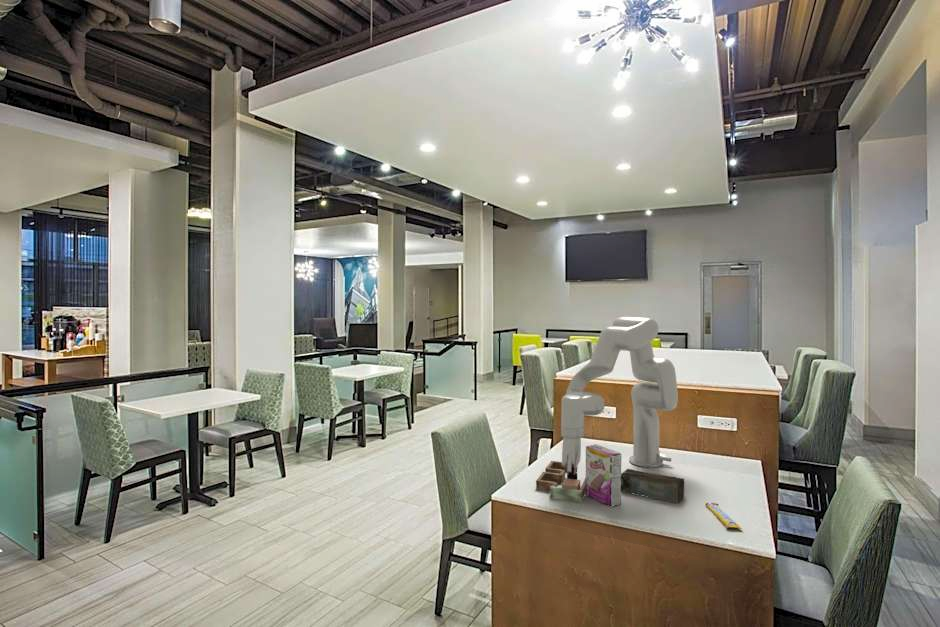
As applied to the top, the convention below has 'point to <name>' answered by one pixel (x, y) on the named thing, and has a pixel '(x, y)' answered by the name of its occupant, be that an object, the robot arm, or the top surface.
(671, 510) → the top surface
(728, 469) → the top surface
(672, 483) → the dark brown long block
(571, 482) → the block
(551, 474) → the trap lane
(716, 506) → the candy bar
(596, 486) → the candy bar box
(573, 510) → the top surface
